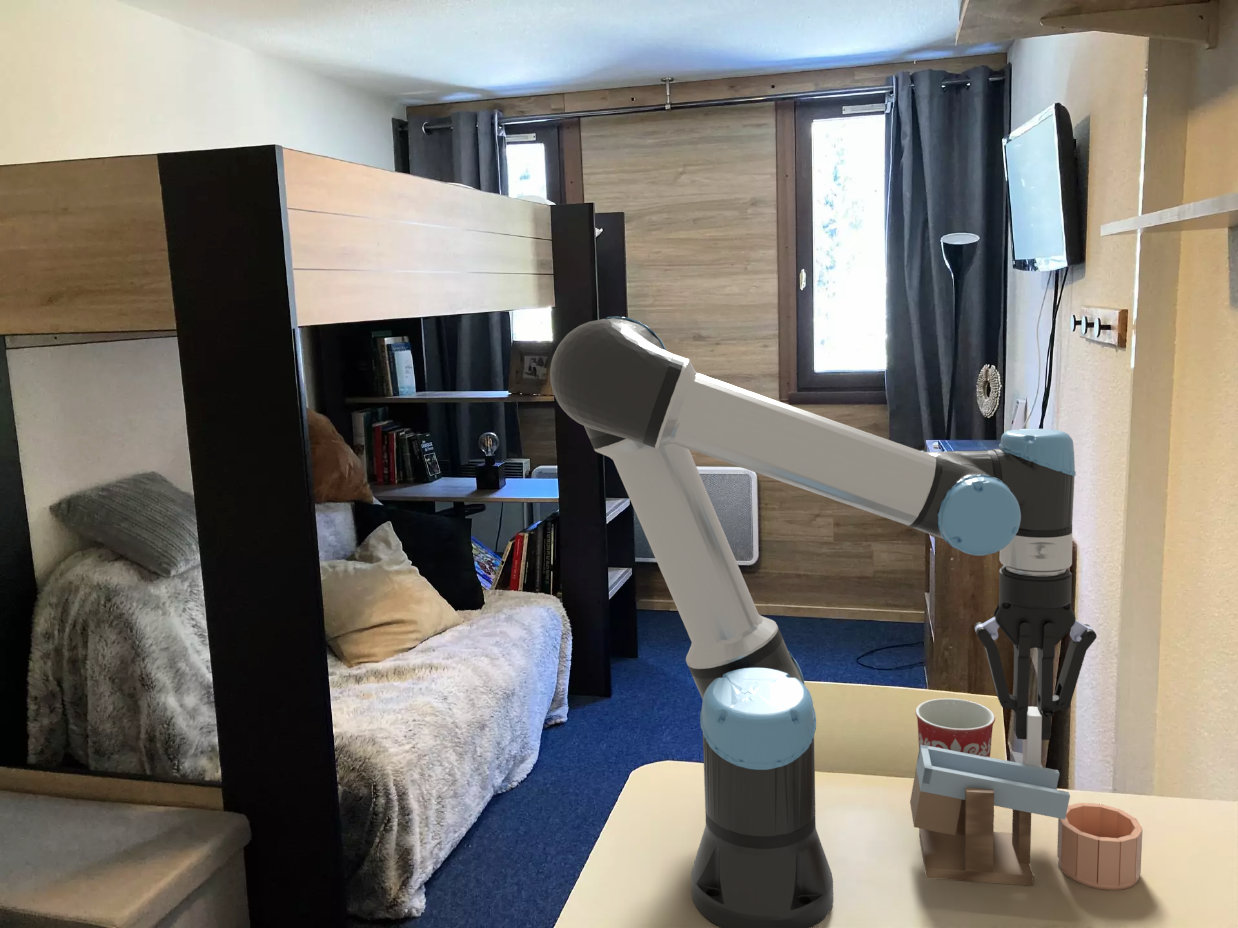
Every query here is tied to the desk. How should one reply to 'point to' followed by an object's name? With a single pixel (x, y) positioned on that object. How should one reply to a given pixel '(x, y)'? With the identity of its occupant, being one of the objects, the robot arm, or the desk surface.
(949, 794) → the chute
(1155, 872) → the desk surface
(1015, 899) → the desk surface
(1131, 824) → the cup
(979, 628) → the robot arm
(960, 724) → the mug
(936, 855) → the stand
